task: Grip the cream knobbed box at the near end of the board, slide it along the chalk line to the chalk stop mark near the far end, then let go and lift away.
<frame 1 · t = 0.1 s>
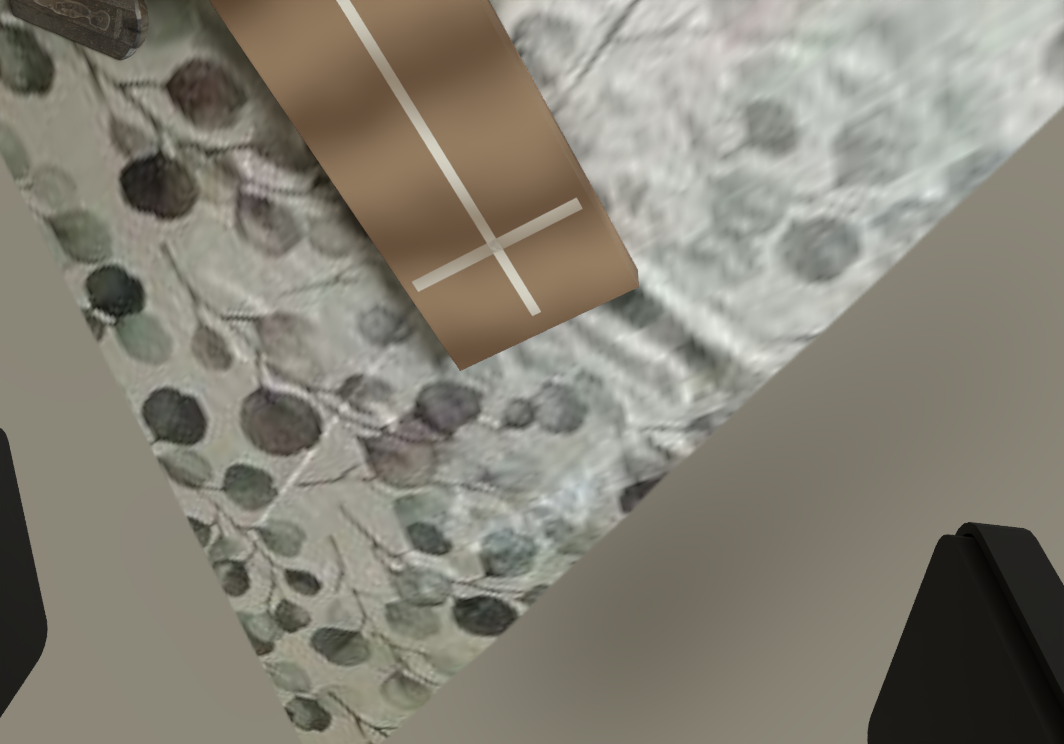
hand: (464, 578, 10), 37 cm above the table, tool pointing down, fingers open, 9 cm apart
board: (397, 64, 44), on the table
block: (89, 4, 45), on the table
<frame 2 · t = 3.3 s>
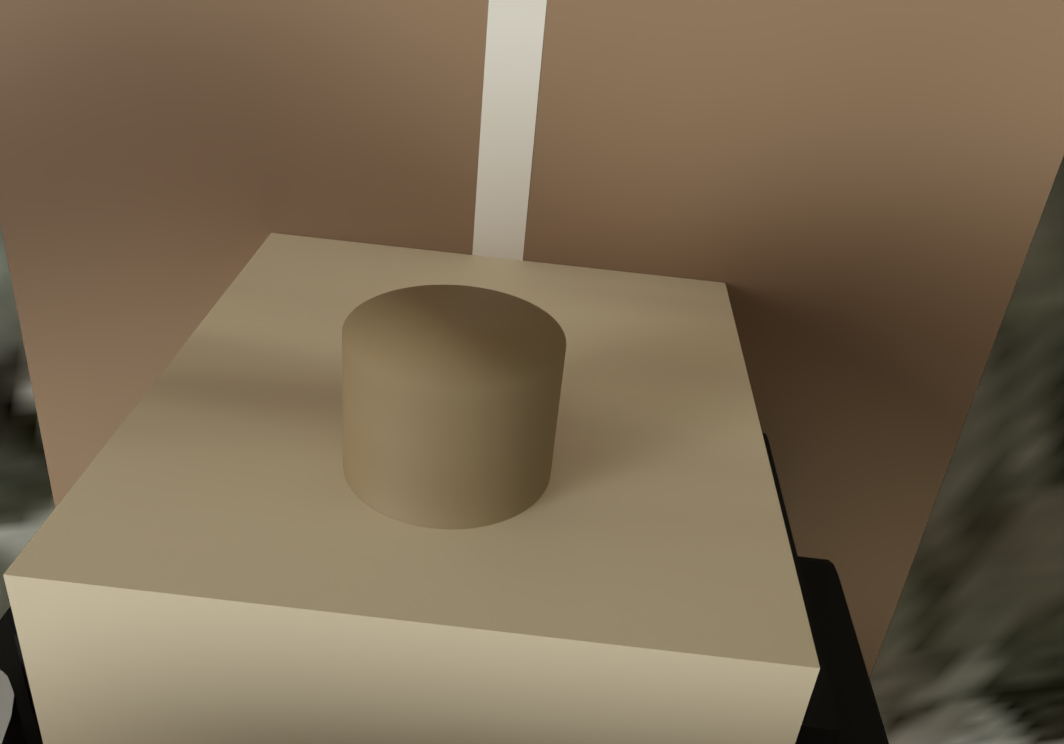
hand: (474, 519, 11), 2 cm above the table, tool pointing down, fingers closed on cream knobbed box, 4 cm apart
cream knobbed box: (478, 500, 11), point 2 cm above the table, touching board, gripper
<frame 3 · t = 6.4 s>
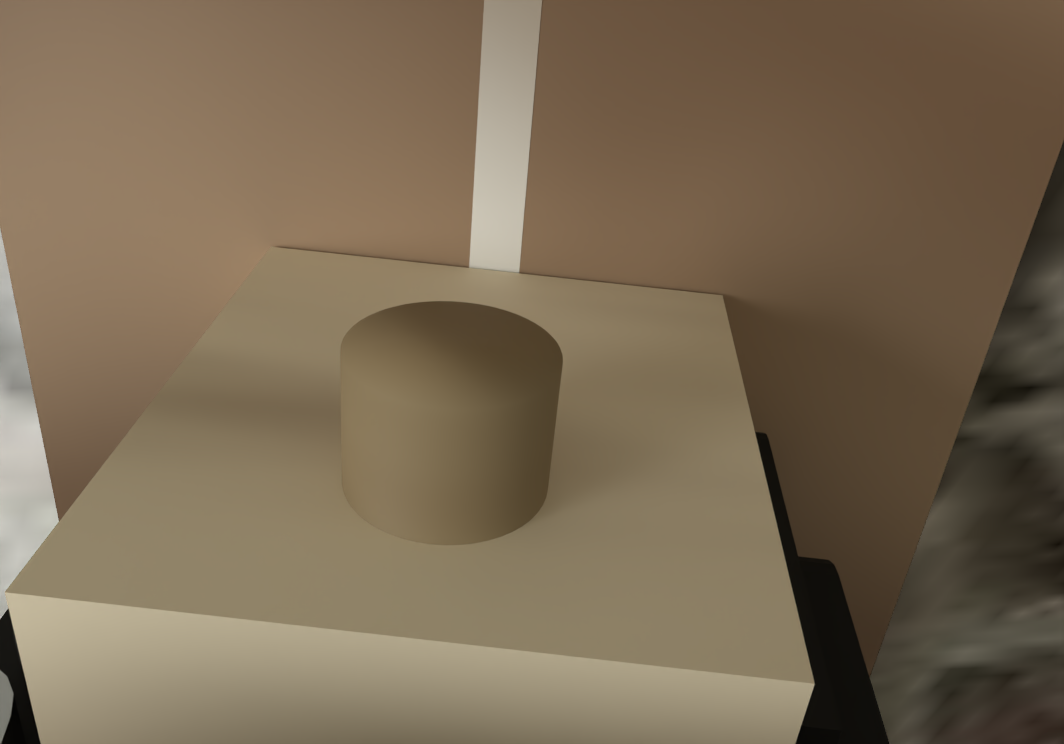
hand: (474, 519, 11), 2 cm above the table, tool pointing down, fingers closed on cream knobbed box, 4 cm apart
cream knobbed box: (477, 511, 11), point 2 cm above the table, touching gripper
board: (487, 514, 14), on the table
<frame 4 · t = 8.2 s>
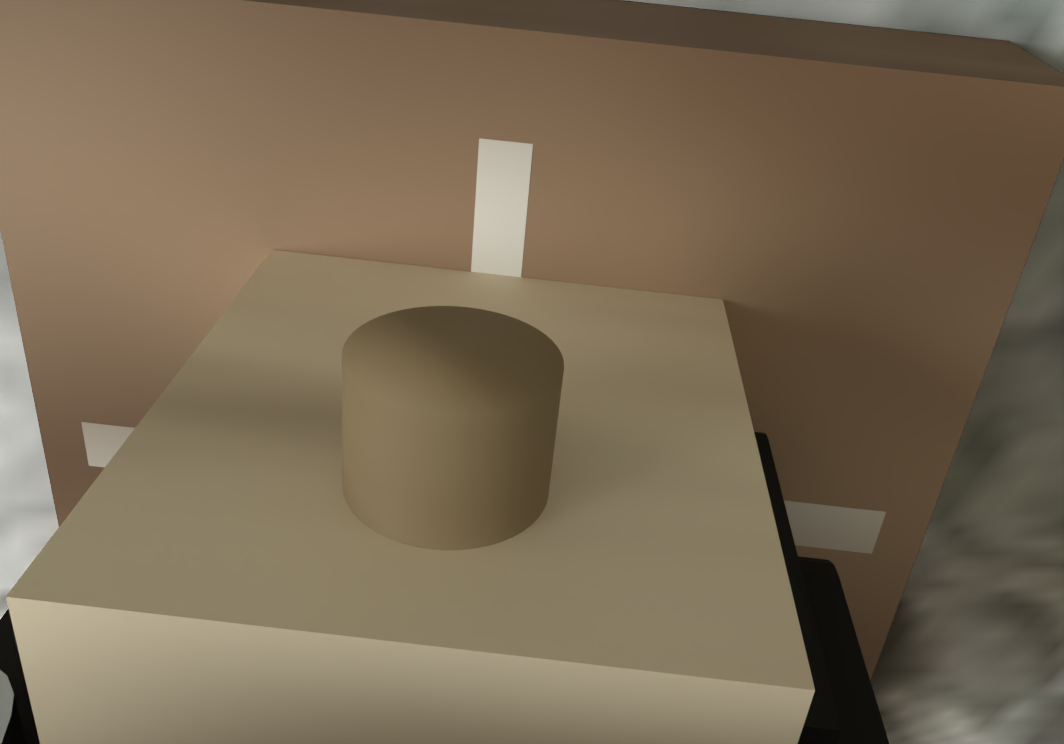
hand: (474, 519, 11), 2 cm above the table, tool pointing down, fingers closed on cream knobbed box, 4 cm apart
cream knobbed box: (477, 514, 11), point 2 cm above the table, touching board, gripper
when the fingers open (2 cm above the table, at t = 9.5 s): cream knobbed box stays where it is, resting on board.
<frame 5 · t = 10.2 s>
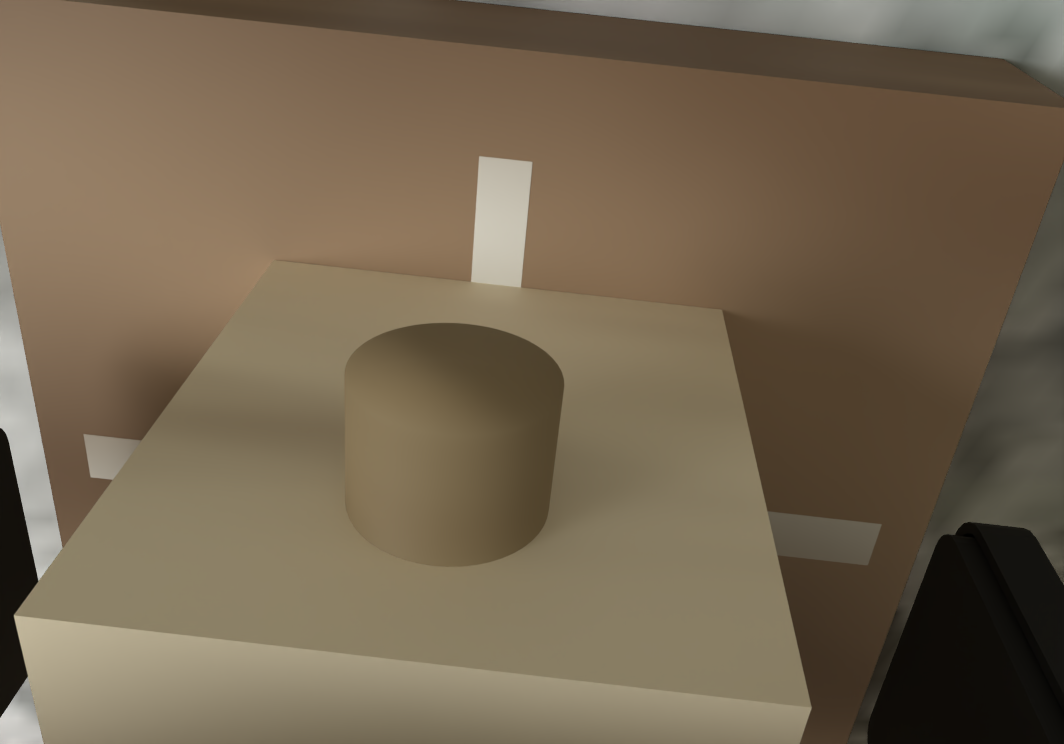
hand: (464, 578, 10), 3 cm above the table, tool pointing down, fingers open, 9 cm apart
cream knobbed box: (478, 520, 11), point 2 cm above the table, touching board
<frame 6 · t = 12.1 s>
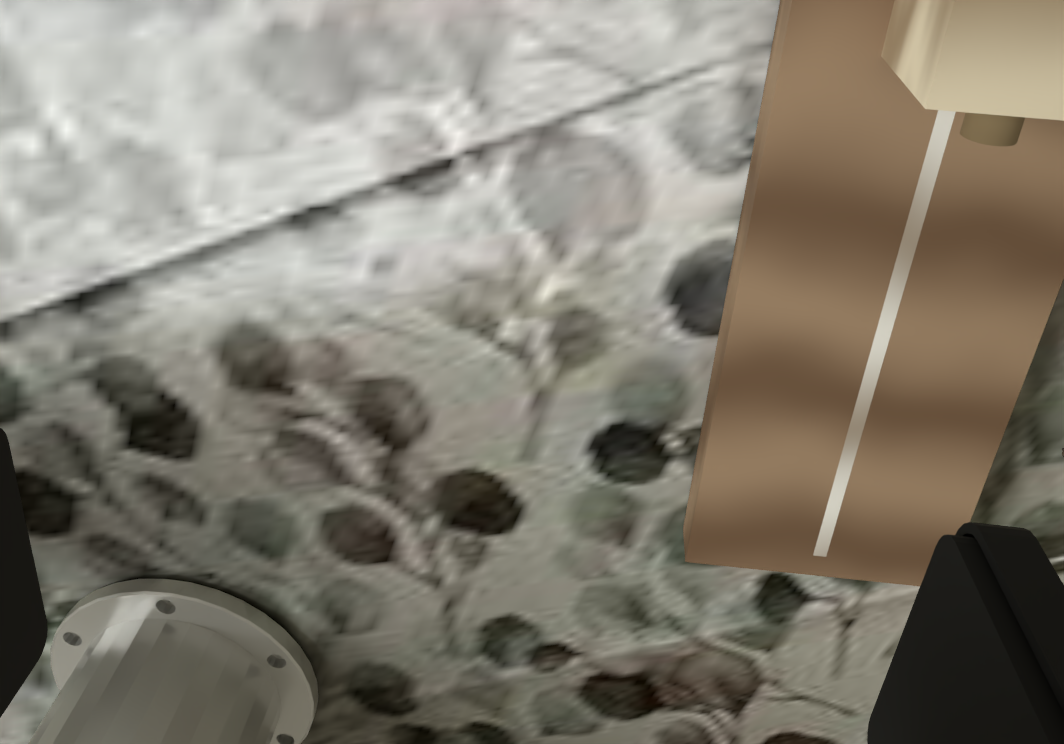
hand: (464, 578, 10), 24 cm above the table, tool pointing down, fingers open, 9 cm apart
board: (893, 221, 33), on the table
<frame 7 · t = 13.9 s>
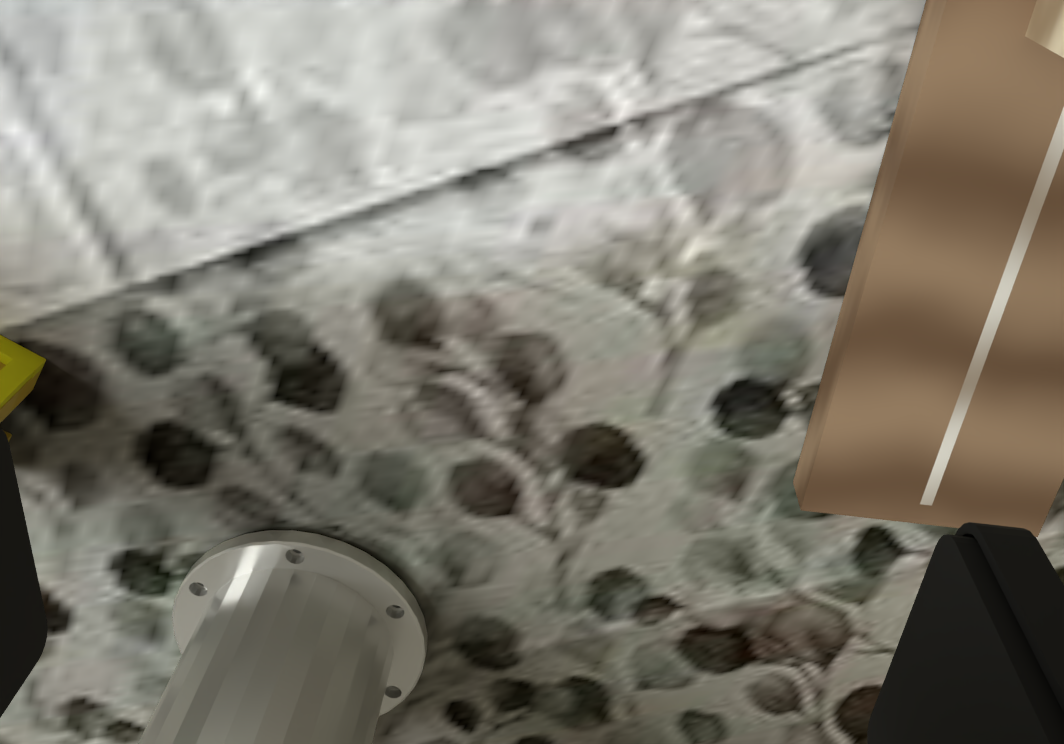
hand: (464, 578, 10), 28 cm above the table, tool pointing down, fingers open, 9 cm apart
board: (1013, 191, 36), on the table
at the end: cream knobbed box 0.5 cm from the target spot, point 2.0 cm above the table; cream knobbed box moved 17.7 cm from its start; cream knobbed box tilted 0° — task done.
